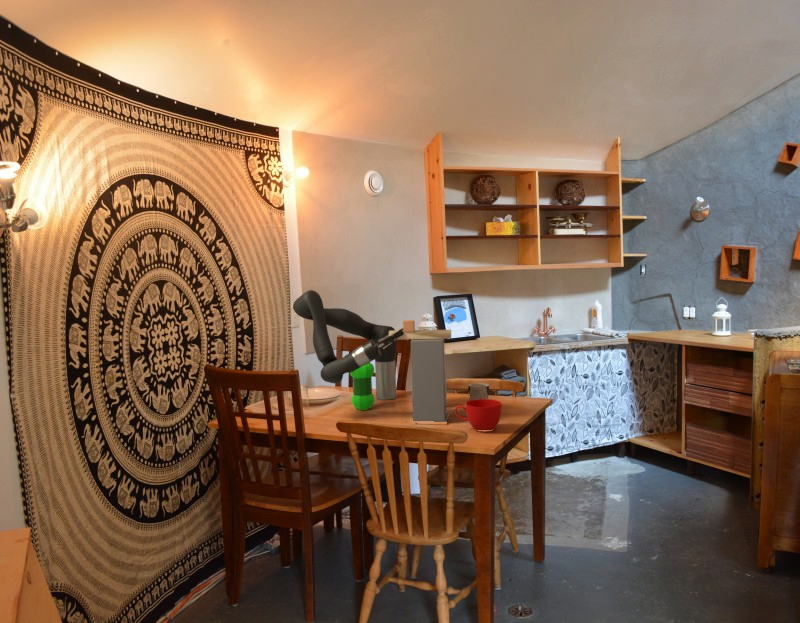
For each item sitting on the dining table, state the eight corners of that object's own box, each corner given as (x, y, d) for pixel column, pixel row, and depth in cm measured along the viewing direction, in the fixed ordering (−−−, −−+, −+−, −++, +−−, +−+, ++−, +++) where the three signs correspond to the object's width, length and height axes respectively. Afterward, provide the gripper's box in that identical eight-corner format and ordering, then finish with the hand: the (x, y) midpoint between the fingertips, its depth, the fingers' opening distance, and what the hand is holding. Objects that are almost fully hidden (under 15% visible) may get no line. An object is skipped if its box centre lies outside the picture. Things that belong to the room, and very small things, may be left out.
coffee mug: (491, 411, 256) (490, 386, 256) (470, 411, 256) (469, 387, 256) (486, 404, 268) (486, 381, 267) (466, 405, 268) (466, 382, 267)
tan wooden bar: (390, 338, 247) (390, 330, 246) (451, 337, 244) (451, 329, 243) (389, 339, 243) (388, 331, 243) (450, 338, 240) (450, 330, 240)
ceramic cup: (456, 424, 237) (456, 398, 237) (502, 425, 235) (501, 399, 234) (454, 434, 225) (453, 407, 224) (501, 435, 222) (501, 407, 221)
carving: (487, 416, 248) (487, 386, 247) (468, 416, 249) (468, 386, 248) (488, 412, 254) (487, 383, 253) (469, 412, 255) (469, 383, 254)
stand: (414, 415, 254) (411, 336, 251) (448, 415, 252) (446, 336, 249) (410, 424, 240) (407, 341, 237) (446, 424, 238) (444, 341, 235)
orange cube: (404, 330, 246) (404, 320, 246) (414, 330, 245) (414, 320, 245) (403, 331, 242) (403, 321, 242) (413, 331, 241) (413, 321, 241)
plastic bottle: (355, 412, 261) (353, 353, 259) (348, 407, 270) (346, 350, 268) (378, 409, 264) (376, 351, 262) (370, 404, 274) (368, 348, 272)
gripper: (358, 347, 240) (395, 324, 237) (364, 342, 254) (400, 320, 251) (368, 364, 240) (406, 341, 237) (374, 358, 254) (410, 336, 251)
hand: (403, 331), depth 244 cm, fingers closed on tan wooden bar, 3 cm apart
